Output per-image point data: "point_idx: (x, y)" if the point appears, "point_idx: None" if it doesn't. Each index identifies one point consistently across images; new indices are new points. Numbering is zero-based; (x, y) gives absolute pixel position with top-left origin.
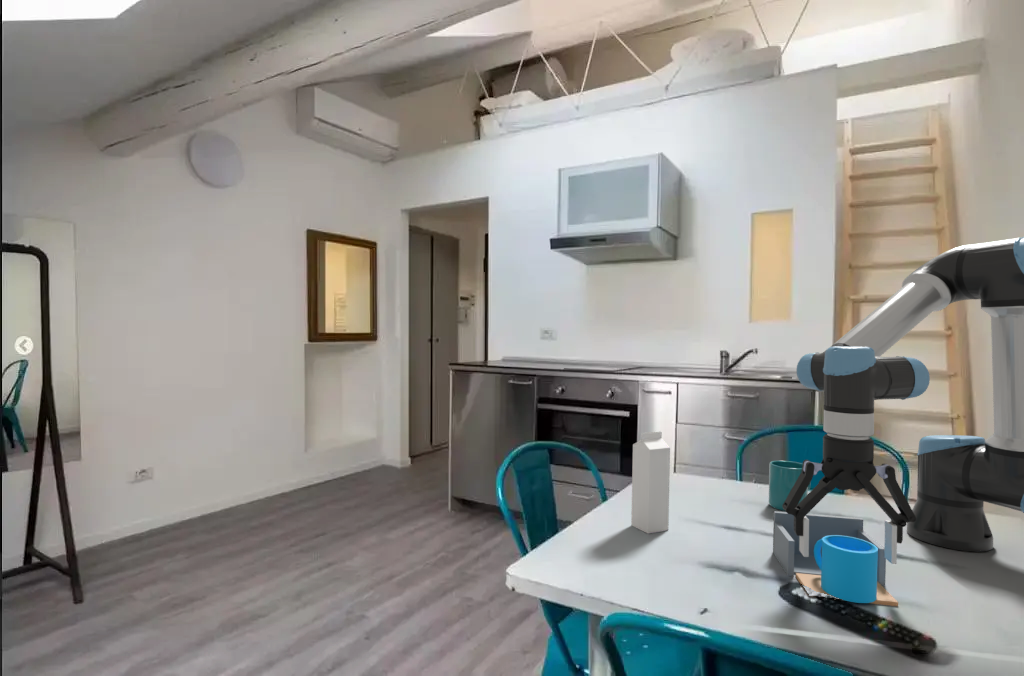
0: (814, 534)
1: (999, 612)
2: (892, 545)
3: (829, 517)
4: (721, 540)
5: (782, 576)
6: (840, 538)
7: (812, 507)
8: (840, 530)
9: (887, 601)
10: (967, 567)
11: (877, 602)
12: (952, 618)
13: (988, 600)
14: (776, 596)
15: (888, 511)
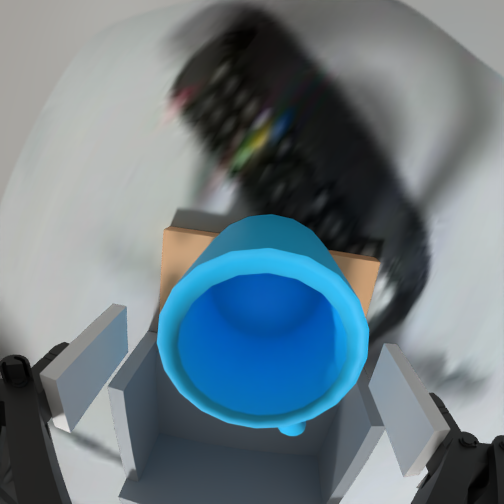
0: (241, 487)
1: (4, 240)
2: (95, 335)
3: None
4: (384, 483)
5: (366, 371)
6: (258, 410)
7: (441, 479)
8: (178, 488)
9: (188, 233)
10: None
11: (213, 235)
12: (78, 200)
13: (3, 284)
14: (437, 268)
15: (34, 431)
